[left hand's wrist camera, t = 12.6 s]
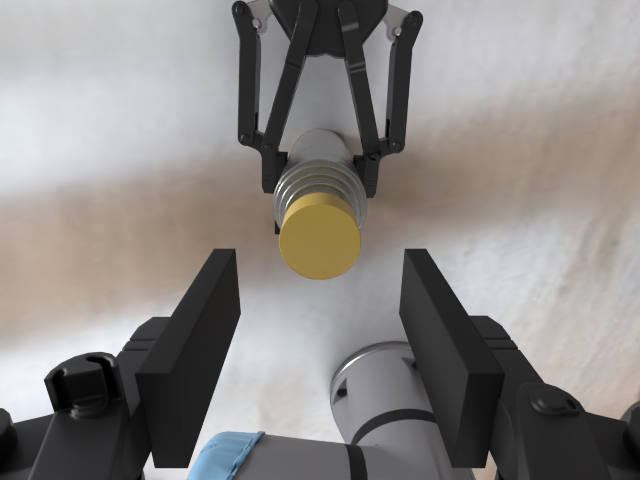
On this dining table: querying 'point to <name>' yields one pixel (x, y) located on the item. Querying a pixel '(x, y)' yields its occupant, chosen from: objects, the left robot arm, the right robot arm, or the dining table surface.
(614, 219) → the dining table surface
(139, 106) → the dining table surface
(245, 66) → the right robot arm
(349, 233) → the cap
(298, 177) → the bottle
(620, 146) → the dining table surface
